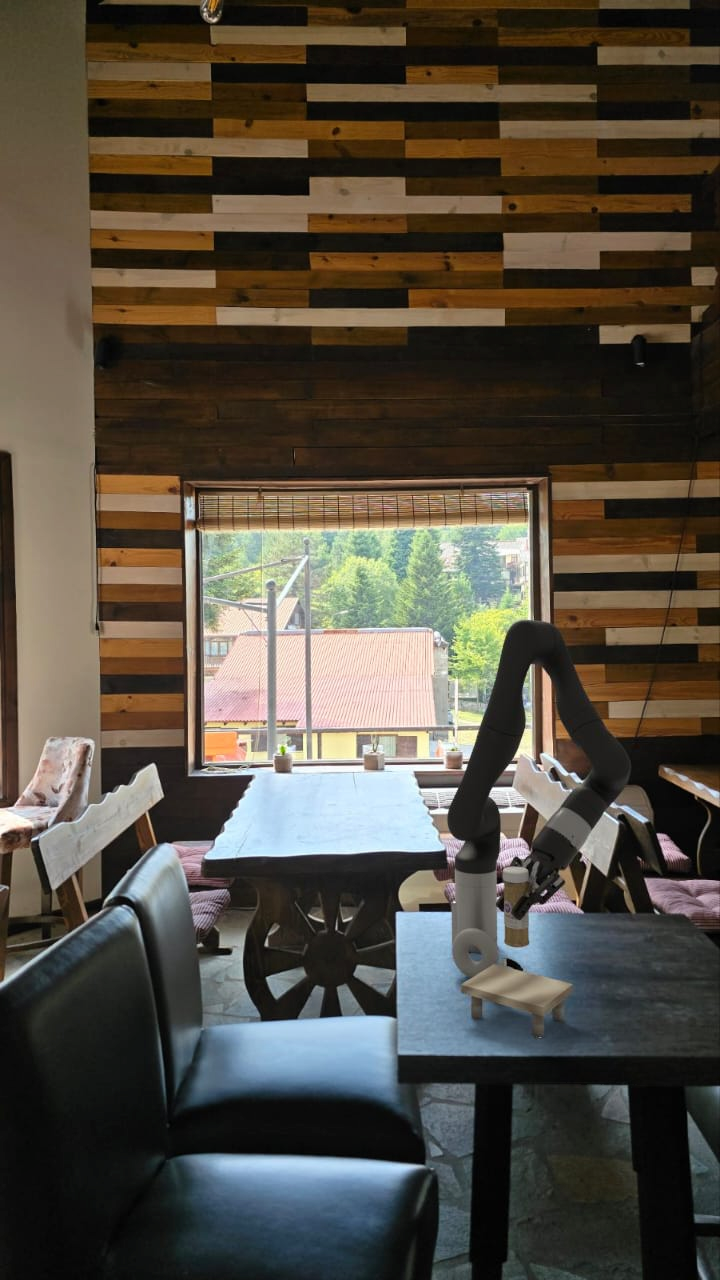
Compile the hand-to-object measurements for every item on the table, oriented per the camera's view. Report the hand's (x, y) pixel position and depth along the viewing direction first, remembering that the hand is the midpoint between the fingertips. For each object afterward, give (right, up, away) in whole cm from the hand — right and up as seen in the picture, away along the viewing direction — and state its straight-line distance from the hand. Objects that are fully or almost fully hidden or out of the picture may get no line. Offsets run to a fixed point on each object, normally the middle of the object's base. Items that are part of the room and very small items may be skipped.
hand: (507, 912), depth 149 cm
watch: (+4, -20, +20) cm, 28 cm away
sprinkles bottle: (+2, -6, +1) cm, 6 cm away
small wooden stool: (+2, -19, 0) cm, 19 cm away
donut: (-3, -20, +18) cm, 27 cm away
